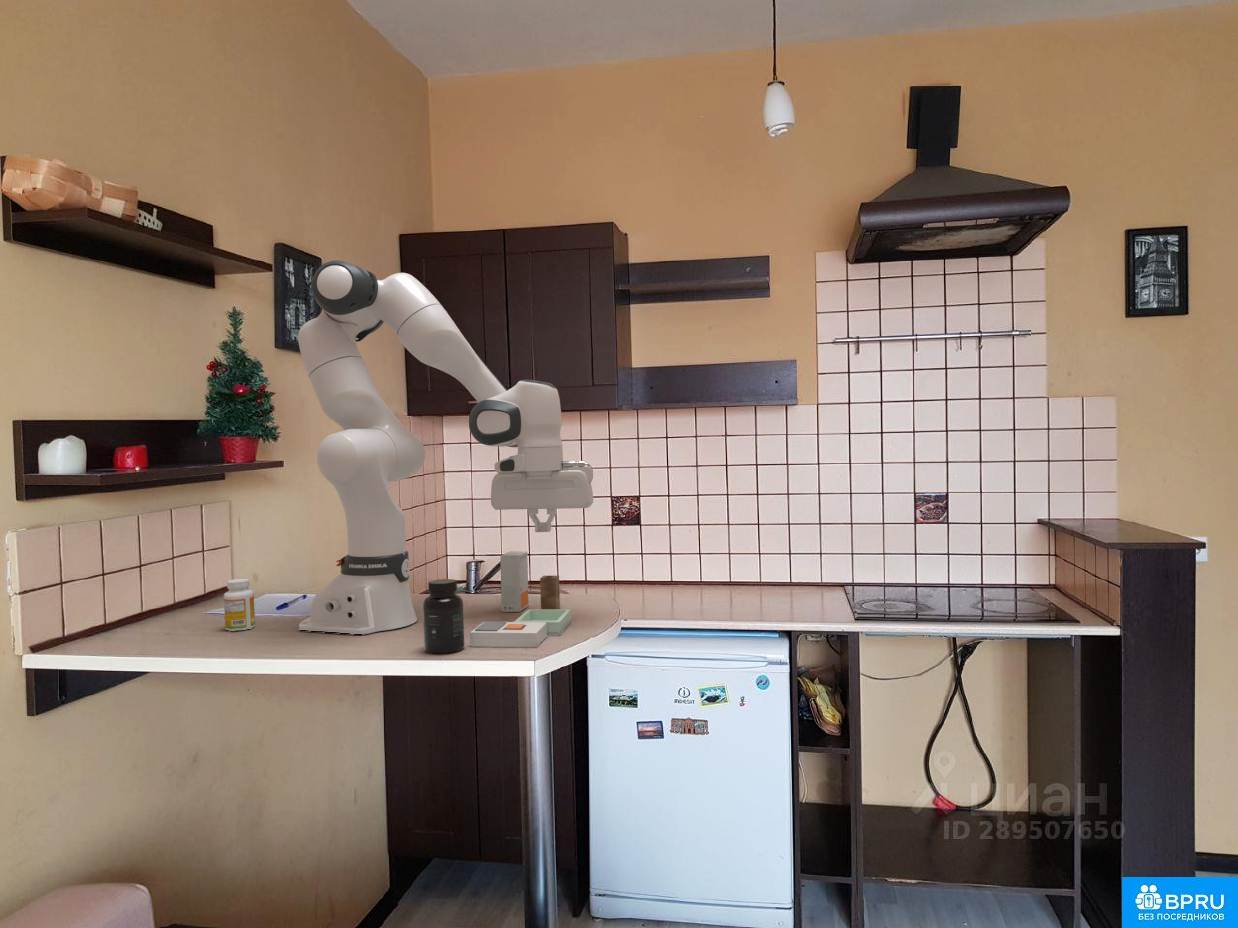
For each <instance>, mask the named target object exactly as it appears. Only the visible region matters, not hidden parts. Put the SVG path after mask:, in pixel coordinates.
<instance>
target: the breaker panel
mask: <svg viewBox="0 0 1238 928" xmlns="http://www.w3.org/2000/svg"><path fill="white" fill-rule="evenodd" d="M508 624H525V627H524V628H523V629H522V630H504V628H505V627H506V626H507V625H508ZM547 637H548V636H547V622H514V621H482V623H480V624H479V625H478V626H476V627H475V628H474V629H473V630H471V631H470V632H469V640H470V641H469V642H470V648H471V647H475V648H477V647H478V648H480V647H482V648H484V647H485V648H491V647H492V648H538V647H539V645H541V643H542V642H543V641H544V640H545V639H546V638H547Z"/></svg>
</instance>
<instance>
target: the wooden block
mask: <svg viewBox="0 0 1238 928" xmlns="http://www.w3.org/2000/svg"><path fill="white" fill-rule="evenodd" d="M539 581H540V582H539V584H540V585H539V586H540V587H539V588H540V590H539V591H540V609H561V601H560V600H561V599H560V598H561V596H560V595H561V594H560V575H543V576H541V577H540V578H539Z"/></svg>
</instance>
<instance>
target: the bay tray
mask: <svg viewBox="0 0 1238 928" xmlns="http://www.w3.org/2000/svg"><path fill="white" fill-rule="evenodd" d="M513 622H547V637H548V636H553V637H554V636H555V637H556V636H557V637H558V636H562V633H563V632H564V631H565V630H566V629H567V628H568V627H569V626H570V625H571V623H572V609H570V608H569V609H568V608H567V609H564V608H562V609H561V608H560V609H541V608H540V609H539V608H536V609H535V608H531V609H529V608H527V610H525V611H524V612H523V613H522V614H521V615H520V616H518V618H516V620H514V621H513ZM566 627H567V628H566Z"/></svg>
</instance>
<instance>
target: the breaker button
mask: <svg viewBox="0 0 1238 928" xmlns="http://www.w3.org/2000/svg"><path fill="white" fill-rule="evenodd" d="M524 627H525V624H508V625H507V626H506V627H505V628H504V630H522V629H523V628H524Z"/></svg>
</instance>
